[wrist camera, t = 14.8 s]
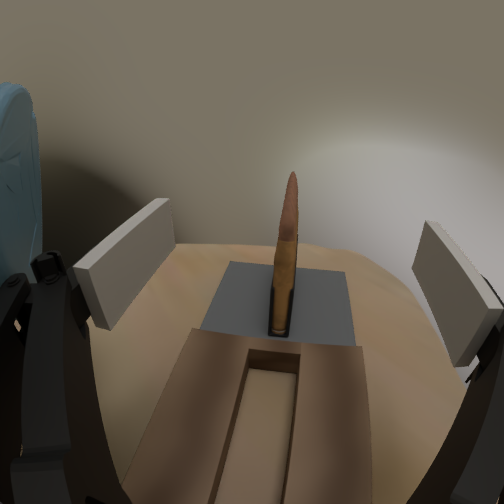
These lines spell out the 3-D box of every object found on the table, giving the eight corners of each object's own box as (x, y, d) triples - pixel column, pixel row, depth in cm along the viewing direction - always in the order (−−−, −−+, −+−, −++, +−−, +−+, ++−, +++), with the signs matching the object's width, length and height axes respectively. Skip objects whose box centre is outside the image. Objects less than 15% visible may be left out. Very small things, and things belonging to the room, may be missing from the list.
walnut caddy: (128, 511, 10) (113, 505, 9) (195, 347, 24) (192, 328, 23) (354, 547, 8) (369, 545, 7) (354, 365, 22) (361, 346, 21)
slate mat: (197, 343, 25) (196, 336, 24) (230, 268, 36) (230, 261, 35) (353, 361, 23) (356, 353, 22) (343, 278, 34) (344, 271, 33)
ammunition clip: (288, 338, 24) (302, 206, 18) (267, 336, 24) (274, 203, 18) (294, 272, 33) (302, 170, 27) (278, 270, 34) (284, 168, 28)
